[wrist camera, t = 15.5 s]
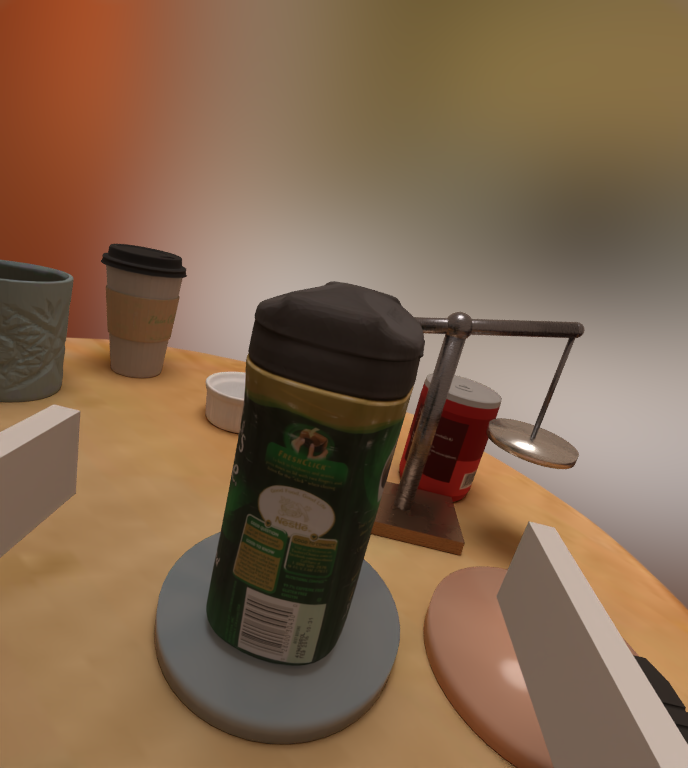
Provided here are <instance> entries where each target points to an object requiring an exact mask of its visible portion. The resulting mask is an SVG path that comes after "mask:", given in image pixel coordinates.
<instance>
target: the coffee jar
mask: <svg viewBox="0 0 688 768" xmlns="http://www.w3.org/2000/svg"><path fill="white" fill-rule="evenodd" d="M424 345H425V340H424V335H423V330H422V327H421V325H420V324H419V323H418V321H417V320H416V319H415V318H414V317H413V316H412V315H411V314H410V313H409V312H408V311H407V310H406V309H404V308H403V307H402V306H401V303H400V301H399V300H398V299H397V298H396V297H393V296H390V295H388V294H384V293H381V292H378V291H375V290H372V289H368V288H364V287H361V286H357V285H352V284H348V283H340V282H329V283H327V284H326V285H324V286H320V287H315V288H310V289H304V290H299V291H294V292H290V293H287V294H283V295H280V296H277V297H273V298H270V299H267V300H264V301H262V302H261V303H260V304H259V305H258V306H257V309H256V313H255V322H254V327H253V331H252V336H251V341H250V346H249V354H248V355H247V359H246V378H245V393H244V403H243V412H242V418H241V424H240V431H239V436H238V443H237V448H236V454H235V459H234V465H233V470H232V476H231V481H230V487H229V492H228V497H227V503H226V508H225V513H224V518H223V523H222V528H221V533H220V538H219V542H218V547H217V552H216V557H215V562H214V566H213V571H212V577H211V582H210V588H209V593H208V598H207V604H206V613H207V618H208V621H209V623H210V626H211V627H212V629H213V630H214V632H215V633H216V634H217V635H218V636H219V637H220V638H221V639H222V640H224V641H225V642H226V643H228V644H230V645H231V646H233V647H234V648H236V649H237V650H239V651H241V652H243V653H245V654H247V655H249V656H252V657H254V658H257V659H260V660H263V661H266V662H269V663H274V664H283V665H291V666H300V665H307V664H312V663H315V662H317V661H319V660H321V659H322V658H324V657H326V656H327V655H328V654H329V653H330V652H331V650H332V649H333V648H334V647H335V645H336V643H337V641H338V639H339V637H340V635H341V632H342V630H343V627H344V624H345V622H346V619H347V615H348V612H349V609H350V605H351V602H352V599H353V595H354V592H355V589H356V585H357V582H358V579H359V575H360V571H361V567H362V563H363V559H364V556H365V552H366V549H367V545H368V542H369V538H370V535H371V531H372V528H373V524H374V521H375V518H376V515H377V511H378V508H379V504H380V501H381V497H382V493H383V490H384V486H385V483H386V480H387V477H388V473H389V469H390V466H391V462H392V459H393V455H394V452H395V448H396V445H397V441H398V438H399V434H400V431H401V427H402V424H403V420H404V417H405V414H406V410H407V406H408V403H409V400H410V396H411V393H412V390H413V386H414V383H415V380H416V376H417V370H418V366H419V361H420V358H421V357H423V351H424Z"/></svg>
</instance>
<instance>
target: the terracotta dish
mask: <svg viewBox="0 0 688 768" xmlns="http://www.w3.org/2000/svg"><path fill="white" fill-rule="evenodd" d="M507 571H508V570H507V569H502V568H496V567H469V568H464V569H461V570H458V571H455V572H453V573H451V574H450V575H448V576H447V577H445V578H444V579H443V580H442V581H441V582H440V583H439V584H438V586H437V588H436V589H435V591H434V594H433V596H432V599H431V602H430V605H429V607H428V610H427V613H426V616H425V621H424V642H425V648H426V653H427V656H428V659H429V662H430V665H431V668H432V670H433V672H434V674H435V677H436V679H437V681H438V683H439V685H440V686H441V688H442V690H443V691H444V693H445V695H446V697H447V698H448V700H449V701H450V702H451V704H452V705H453V706H454V708H455V709H456V711H457V712H458V713H459V715H460V716H461V717H462V718H463V719H464V720H465V722H466V723H467V724H468V725H469V726H470V727H471V729H472V730H473V731H474V732H475V733H476V734H477V735H478V736H479V737H480V738H482V739H483V740H484V741H485V742H486V743H487V744H488V745H489V746H490V747H491V748H492V749H494V750H495V751H496V752H497V753H498V754H500V755H501V756H502V757H503V758H504V759H506V760H507V761H509V762H510V763H512V764H513V765H514V766H516V767H517V768H554V767H553V764H552V761H551V758H550V755H549V752H548V749H547V746H546V743H545V740H544V737H543V734H542V731H541V728H540V725H539V722H538V719H537V717H536V714H535V711H534V708H533V705H532V702H531V699H530V696H529V693H528V690H527V687H526V684H525V681H524V678H523V675H522V672H521V669H520V666H519V663H518V660H517V657H516V654H515V651H514V648H513V645H512V642H511V639H510V636H509V633H508V630H507V627H506V624H505V621H504V618H503V615H502V612H501V609H500V606H499V603H498V600H497V597H496V596H497V594H498V591H499V589H500V587H501V584H502V582H503V580H504V577H505V575H506V573H507ZM623 640H624V639H623ZM624 641H625V640H624ZM625 643H626V645H627V646H628V648H629V650H630V651H631V653H632V655H635V656H638V655H637V653H636V652H635V651H634V650H633V649H632V647H631V646H630V645H629V644H628V643H627V642H626V641H625Z"/></svg>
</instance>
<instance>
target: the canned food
mask: <svg viewBox="0 0 688 768" xmlns="http://www.w3.org/2000/svg"><path fill="white" fill-rule="evenodd" d="M432 376H433V374H429V375H428V376H427V377H426V380H425V382H424V385H423V389H422V391H421V394H420V398H419V402H418V405H417V408H416V411H415V415H414V418H413V421H412V425H411V428H410V431H409V435H408V438H407V442H406V445H405V448H404V452H403V455H402V458H401V462H400V477H402V474H403V471H404V468H405V464H406V461H407V458H408V454H409V451H410V448H411V445H412V441H413V438H414V435H415V432H416V428H417V425H418V422H419V419H420V415H421V412H422V409H423V406H424V402H425V399H426V396H427V393H428V389H429V386H430V383H431V380H432ZM501 400H502V398H501V396H500V395H499V394H498V393H496V392H495V391H494V390H492V389H491V388H489V387H487V386H485V385H483V384H481V383H478V382H476V381H473V380H470V379H467V378H463V377H460V376H455V375H454V377H453V380H452V383H451V387H450V390H449V393H448V396H447V399H446V402H445V405H444V408H443V411H442V414H441V418H440V421H439V424H438V427H437V430H436V433H435V436H434V439H433V442H432V445H431V449H430V452H429V455H428V458H427V461H426V464H425V467H424V470H423V473H422V476H421V480H420V483H419V486H418V489H420V490H424V491H428V492H432V493H436V494H440V495H444V496H448V497H451V498H452V501H453V502H454V501H459V500H461V499H462V498H463V497H464V496H465V495H466V494H467V493H468V491H469V490H470V487H471V484H472V481H473V479H474V476H475V473H476V471H477V468H478V465H479V463H480V460H481V457H482V454H483V452H484V449H485V446H486V444H487V441H488V436H487V434H486V431H487V428H488V425H489V422H490V421H491V420H493V419H496V416H497V413H498V410H499V407H500V404H501Z"/></svg>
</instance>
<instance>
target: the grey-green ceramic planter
mask: <svg viewBox="0 0 688 768" xmlns="http://www.w3.org/2000/svg"><path fill="white" fill-rule="evenodd" d="M72 287H73V277H72V276H71V275H70V274H68V273H65V272H63V271H59V270H56V269H52V268H47V267H43V266H38V265H33V264H27V263H20V262H12V261H5V260H0V402H24V401H33V400H38V399H42V398H46V397H49V396H51V395H53V394H55V393H57V392H58V391H59V389H60V387H61V385H62V378H63V362H64V354H65V341H66V335H67V326H68V316H69V305H70V302H71V294H72Z"/></svg>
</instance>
